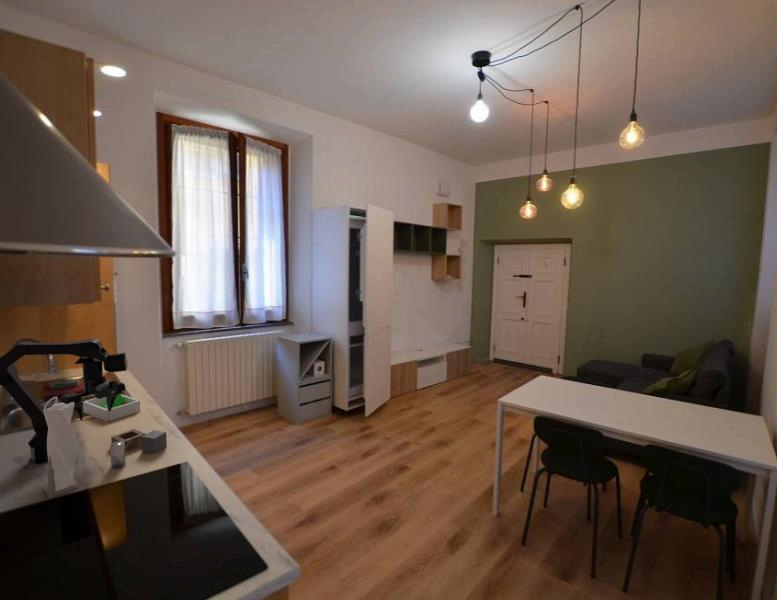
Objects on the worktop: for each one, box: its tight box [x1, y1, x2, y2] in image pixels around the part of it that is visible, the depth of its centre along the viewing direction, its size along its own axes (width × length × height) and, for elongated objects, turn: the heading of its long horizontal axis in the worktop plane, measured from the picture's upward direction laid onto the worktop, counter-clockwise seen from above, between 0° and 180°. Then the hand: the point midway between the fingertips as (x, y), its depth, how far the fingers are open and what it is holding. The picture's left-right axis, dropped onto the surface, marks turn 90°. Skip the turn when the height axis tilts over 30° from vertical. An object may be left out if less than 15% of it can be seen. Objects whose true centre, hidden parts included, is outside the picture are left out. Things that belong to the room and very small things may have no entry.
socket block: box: [110, 428, 146, 453], centre depth 146 cm, size 8×8×4 cm
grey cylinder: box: [109, 441, 126, 470], centre depth 132 cm, size 4×4×8 cm
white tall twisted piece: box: [42, 396, 80, 499], centre depth 118 cm, size 8×8×28 cm
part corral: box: [82, 393, 141, 422], centre depth 177 cm, size 14×20×5 cm
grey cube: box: [141, 430, 168, 455], centre depth 144 cm, size 6×6×6 cm
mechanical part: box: [103, 393, 122, 409], centre depth 177 cm, size 12×6×8 cm, turn 48°
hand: (95, 415), depth 142 cm, fingers open, 9 cm apart
